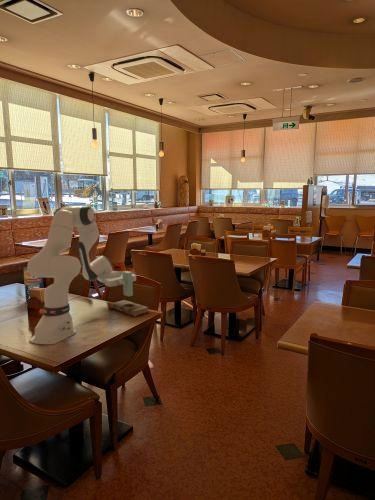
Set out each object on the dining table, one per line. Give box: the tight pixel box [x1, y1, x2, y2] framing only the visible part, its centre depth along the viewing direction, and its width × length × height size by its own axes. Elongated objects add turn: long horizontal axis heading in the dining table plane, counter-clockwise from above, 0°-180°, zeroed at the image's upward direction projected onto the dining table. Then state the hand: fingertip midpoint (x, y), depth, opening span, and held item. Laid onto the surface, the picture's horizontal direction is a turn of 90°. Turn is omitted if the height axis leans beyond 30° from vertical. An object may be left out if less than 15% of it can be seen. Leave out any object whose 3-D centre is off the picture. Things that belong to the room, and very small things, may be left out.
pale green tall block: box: [122, 270, 134, 297], centre depth 212 cm, size 5×3×14 cm, turn 48°
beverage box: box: [23, 267, 44, 303], centre depth 233 cm, size 7×11×22 cm, turn 113°
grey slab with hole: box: [110, 299, 149, 317], centre depth 215 cm, size 22×10×3 cm, turn 47°
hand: (128, 282), depth 211 cm, fingers closed on pale green tall block, 3 cm apart
